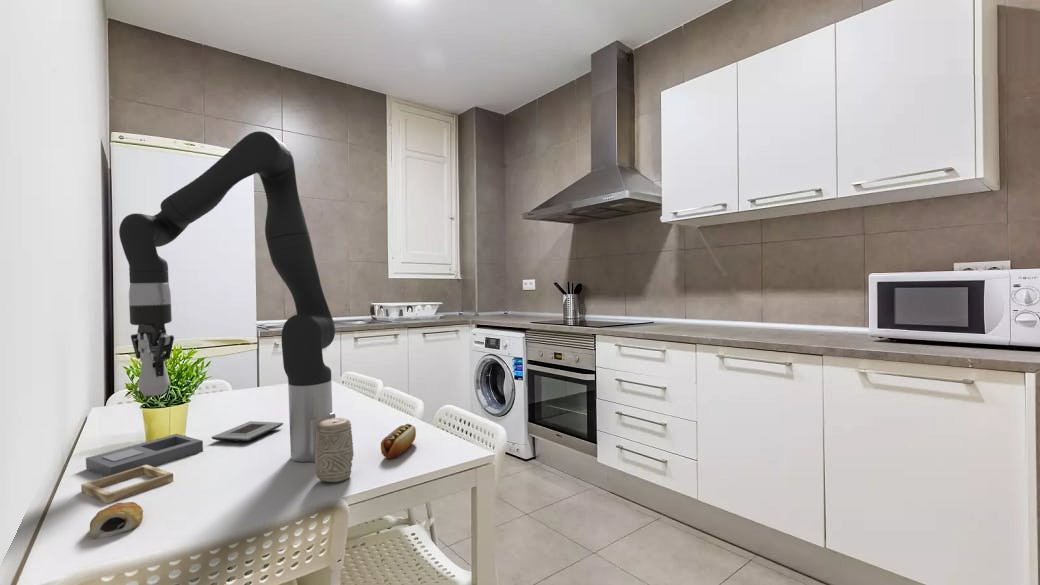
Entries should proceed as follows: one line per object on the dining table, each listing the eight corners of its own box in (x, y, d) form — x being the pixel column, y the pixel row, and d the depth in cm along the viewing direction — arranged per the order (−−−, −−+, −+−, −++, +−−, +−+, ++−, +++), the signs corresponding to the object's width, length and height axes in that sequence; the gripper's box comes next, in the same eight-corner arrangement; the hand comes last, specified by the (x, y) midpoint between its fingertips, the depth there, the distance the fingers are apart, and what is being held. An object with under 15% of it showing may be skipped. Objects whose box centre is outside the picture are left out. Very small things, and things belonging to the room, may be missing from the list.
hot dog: (420, 442, 118) (420, 422, 118) (399, 462, 105) (398, 440, 105) (401, 441, 119) (401, 421, 119) (377, 461, 106) (377, 439, 106)
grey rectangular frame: (203, 450, 115) (202, 439, 115) (111, 479, 99) (110, 466, 99) (176, 443, 121) (176, 433, 121) (86, 469, 105) (85, 457, 105)
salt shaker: (174, 392, 109) (172, 336, 109) (145, 398, 104) (142, 339, 104) (162, 390, 112) (160, 335, 112) (133, 395, 107) (131, 338, 107)
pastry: (98, 519, 83) (97, 497, 83) (147, 508, 86) (146, 488, 86) (86, 544, 75) (85, 520, 75) (141, 531, 79) (140, 508, 78)
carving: (360, 476, 98) (358, 419, 97) (325, 489, 92) (323, 428, 92) (344, 469, 102) (342, 414, 101) (309, 481, 96) (307, 422, 96)
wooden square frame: (173, 480, 98) (173, 473, 98) (107, 503, 88) (106, 495, 88) (146, 471, 103) (146, 464, 103) (81, 491, 93) (81, 484, 93)
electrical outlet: (247, 447, 119) (247, 437, 118) (211, 444, 120) (211, 435, 120) (283, 430, 131) (283, 421, 131) (250, 428, 133) (250, 420, 133)
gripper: (185, 302, 108) (189, 377, 109) (152, 302, 114) (155, 373, 115) (148, 304, 101) (151, 384, 102) (115, 303, 108) (118, 379, 108)
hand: (153, 377), depth 108 cm, fingers closed on salt shaker, 3 cm apart
